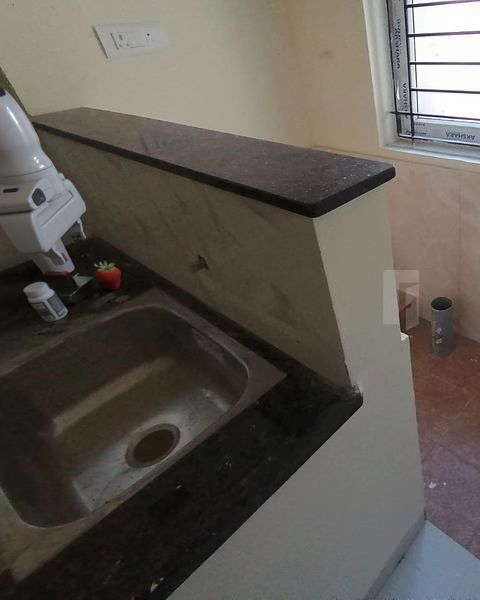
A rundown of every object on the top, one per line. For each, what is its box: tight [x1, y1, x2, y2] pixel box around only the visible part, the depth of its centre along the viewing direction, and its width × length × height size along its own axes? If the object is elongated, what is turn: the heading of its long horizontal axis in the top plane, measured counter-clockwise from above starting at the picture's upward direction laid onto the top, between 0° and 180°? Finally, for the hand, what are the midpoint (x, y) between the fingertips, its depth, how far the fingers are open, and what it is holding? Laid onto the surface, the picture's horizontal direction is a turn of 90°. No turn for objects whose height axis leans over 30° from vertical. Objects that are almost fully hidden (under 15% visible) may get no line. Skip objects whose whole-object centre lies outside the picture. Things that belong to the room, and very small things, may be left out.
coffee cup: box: [28, 238, 75, 274], centre depth 101 cm, size 10×10×15 cm
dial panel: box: [46, 272, 100, 306], centre depth 96 cm, size 10×10×3 cm
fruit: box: [93, 259, 122, 291], centre depth 96 cm, size 5×5×8 cm
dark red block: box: [41, 271, 77, 287], centre depth 94 cm, size 6×2×4 cm, turn 85°
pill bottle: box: [23, 281, 69, 323], centre depth 88 cm, size 5×5×8 cm
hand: (71, 251), depth 78 cm, fingers open, 8 cm apart
